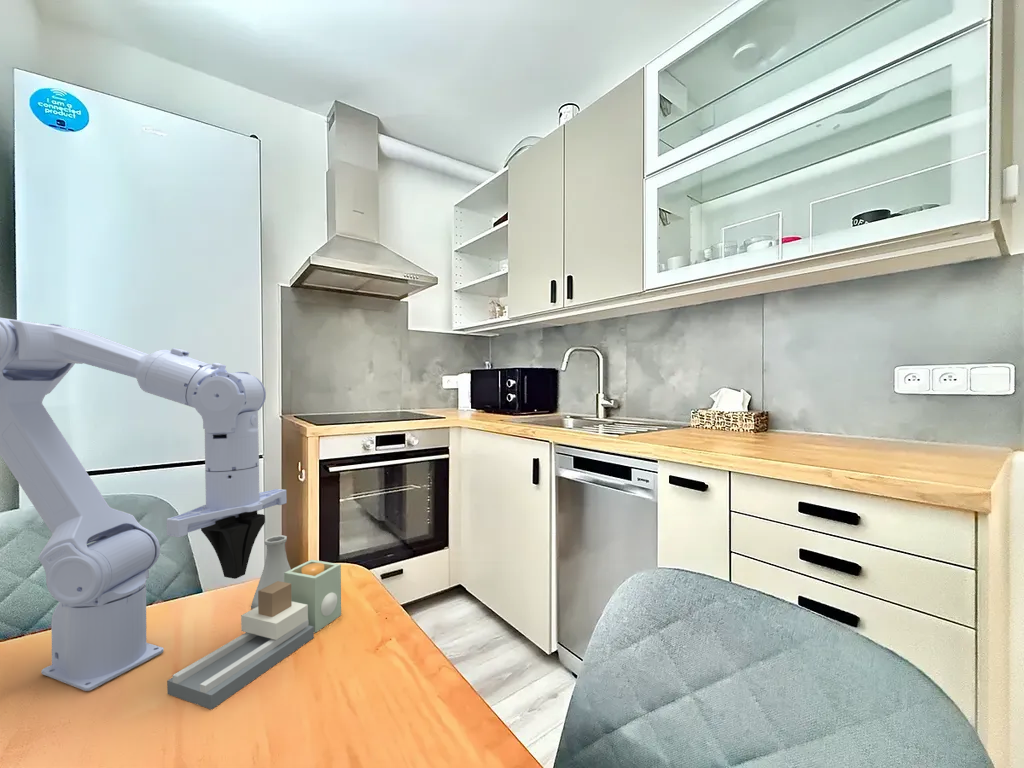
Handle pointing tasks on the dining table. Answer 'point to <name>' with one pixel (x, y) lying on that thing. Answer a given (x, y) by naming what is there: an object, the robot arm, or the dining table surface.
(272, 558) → the flask
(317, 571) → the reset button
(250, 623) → the carriage
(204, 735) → the dining table surface
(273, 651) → the rail track
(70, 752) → the dining table surface
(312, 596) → the cabinet
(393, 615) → the dining table surface
